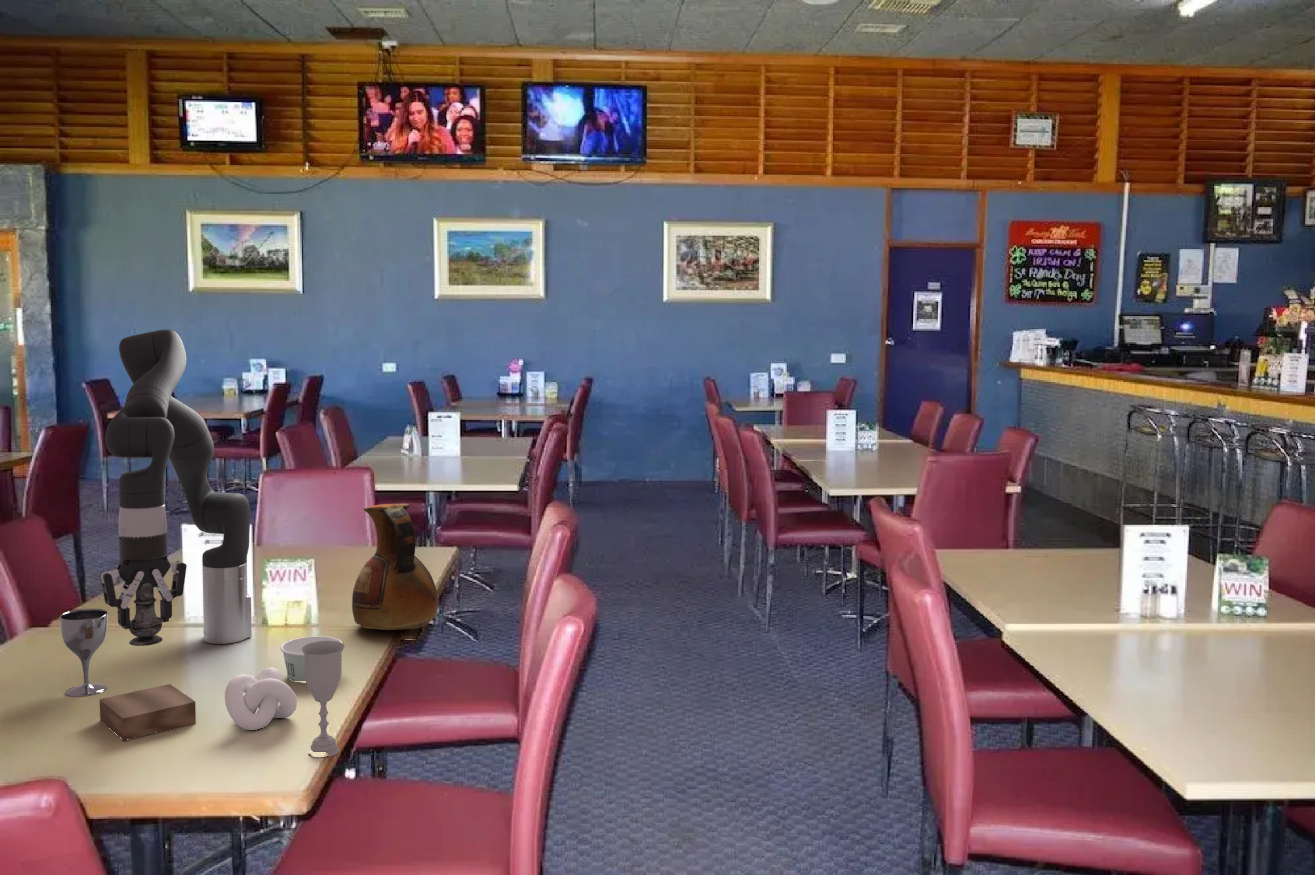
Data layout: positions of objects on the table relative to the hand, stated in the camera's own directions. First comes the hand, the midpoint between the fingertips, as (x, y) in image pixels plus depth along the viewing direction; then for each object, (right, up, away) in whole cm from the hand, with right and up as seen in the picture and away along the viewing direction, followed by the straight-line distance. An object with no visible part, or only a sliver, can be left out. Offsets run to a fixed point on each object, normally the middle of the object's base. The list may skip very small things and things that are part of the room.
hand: (145, 624), depth 179 cm
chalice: (+34, -20, -8) cm, 41 cm away
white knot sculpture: (+19, -18, +3) cm, 26 cm away
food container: (+20, -16, +28) cm, 38 cm away
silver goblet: (-20, -16, +16) cm, 30 cm away
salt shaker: (0, -3, 0) cm, 3 cm away
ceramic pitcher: (+28, -12, +62) cm, 69 cm away
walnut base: (0, -18, +2) cm, 18 cm away
